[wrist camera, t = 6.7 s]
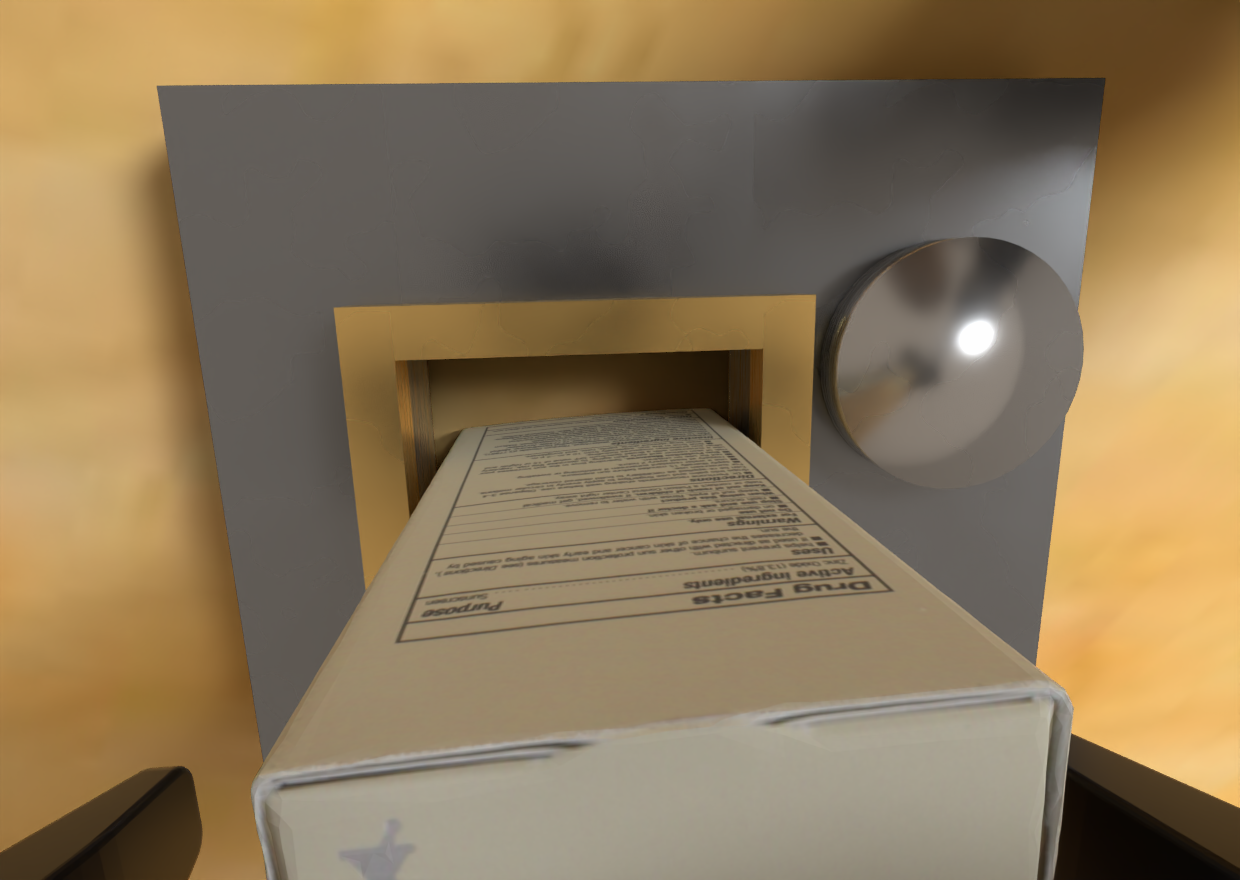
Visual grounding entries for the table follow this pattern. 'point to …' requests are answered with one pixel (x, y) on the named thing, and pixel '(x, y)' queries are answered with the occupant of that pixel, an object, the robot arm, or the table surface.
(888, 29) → the table surface
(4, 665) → the table surface
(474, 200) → the grey slotted board
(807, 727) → the skincare box
